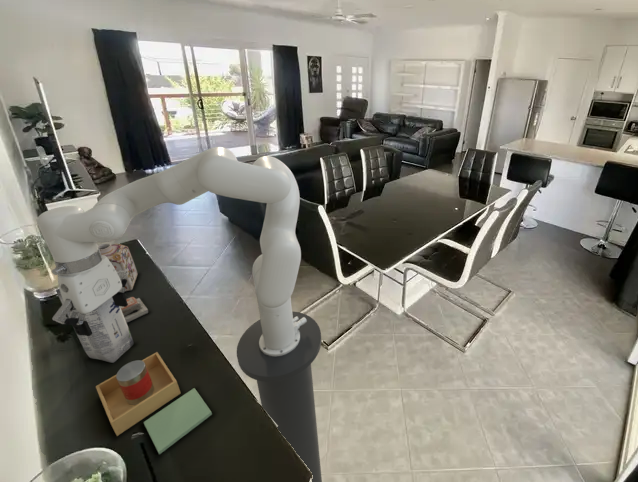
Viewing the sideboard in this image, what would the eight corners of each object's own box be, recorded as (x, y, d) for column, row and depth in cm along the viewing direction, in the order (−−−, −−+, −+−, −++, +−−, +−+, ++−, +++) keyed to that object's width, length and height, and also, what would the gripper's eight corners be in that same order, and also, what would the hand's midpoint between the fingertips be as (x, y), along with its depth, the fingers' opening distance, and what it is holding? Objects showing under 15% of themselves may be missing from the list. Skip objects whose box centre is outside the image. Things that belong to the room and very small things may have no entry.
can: (149, 379, 89) (140, 355, 85) (157, 392, 85) (148, 369, 82) (123, 395, 85) (112, 371, 81) (130, 410, 81) (119, 385, 78)
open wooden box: (161, 363, 95) (157, 351, 93) (180, 393, 86) (176, 381, 84) (101, 398, 85) (95, 386, 83) (117, 436, 76) (110, 423, 74)
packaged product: (78, 332, 99) (72, 316, 105) (84, 343, 101) (77, 327, 107) (145, 302, 111) (136, 289, 117) (149, 313, 113) (140, 300, 119)
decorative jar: (104, 280, 129) (88, 242, 122) (138, 273, 134) (125, 236, 126) (94, 299, 119) (77, 258, 112) (132, 290, 124) (118, 251, 117)
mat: (195, 390, 87) (194, 387, 87) (212, 414, 81) (211, 411, 81) (144, 424, 79) (143, 422, 78) (159, 454, 73) (158, 452, 72)
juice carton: (113, 367, 93) (80, 292, 82) (84, 360, 95) (47, 287, 84) (139, 342, 101) (112, 272, 90) (112, 337, 103) (82, 267, 92)
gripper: (53, 287, 63) (83, 350, 70) (127, 242, 79) (146, 297, 86) (21, 282, 64) (54, 345, 71) (101, 239, 80) (121, 294, 87)
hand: (104, 319), depth 79 cm, fingers open, 9 cm apart
